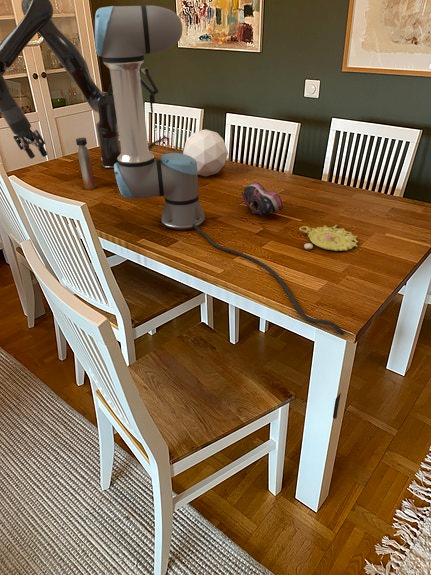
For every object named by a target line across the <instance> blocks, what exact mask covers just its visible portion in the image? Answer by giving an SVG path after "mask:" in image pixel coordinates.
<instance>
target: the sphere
mask: <svg viewBox="0 0 431 575" xmlns="http://www.w3.org/2000/svg"><path fill="white" fill-rule="evenodd" d="M182 154H185V155H188V156H191V157H192V158H194V159H195V161H196V163H197V171H198V174H197V176H198V175H199V176H202V177H209V176H212V175H216V174H218V173H219V172H220V171H221V170H222V168H223V167H224V166H225V164H226V160H227V158H228V154H229V151H228V148H227V146H226V143H225V140H224V139H223V137H222V136H221V135H220V134H219V133H218V132H216V131H213V130H210V129H206V128H205V129H202V130H199V131H196V132H192V134H191V135H190V136H189V137H188V138H187V139H186V141H185V143H184V148H183V152H182Z"/></svg>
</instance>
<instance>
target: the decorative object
mask: <svg viewBox="0 0 431 575" xmlns="http://www.w3.org/2000/svg"><path fill="white" fill-rule="evenodd" d="M303 228H304V229H305V230H304V229H303ZM299 231H300V232H303V233H305V234H307V237H308V238H309V240H310V241H311V243H304V244H303V248H304V249H305V250H313V249H314V245H315V246H316V247H318V248H321V249H324V250H328V251H335V252H341V251H348V250H352V249H354V247H356V248H358V247H359V245H358V244H357V243H359V240H357V238H359V237H358V235H353V234H352V231H347V230H346V229H345V228H344V227H342V228H338V224H335V225H333V226H331V227H328V226H327V225H326V224H325V225H323V226H322V227H321V226H317V227H316V228H314V227H309V226H308V225H302V226H300V227H299ZM313 244H314V245H313Z"/></svg>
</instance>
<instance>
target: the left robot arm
mask: <svg viewBox="0 0 431 575" xmlns="http://www.w3.org/2000/svg"><path fill="white" fill-rule="evenodd" d="M20 6H21V12H22V13H23V17H22V19H21V20H20V22H19V23H18V24H17V25H16V26H15V27H14V28H13V29H12V30H11V31H10V32H8V33H7V34H6V35H5V36H4V37H3V38H2V40H1V41H0V113H1V115H2V117H3V119H4V120H5V123H6V124H7V125H8V127H9V129H10V130H11V132H12V133H13V134H14V135H13V136H12V137H13V140H14V141H15V143H16V144H17V146H18V148H19V149H20V150H21V151H24V152H26V153H25V154H27V156H28V158H29V159H34V158H35V157H36V155H35V153H34V151H33V150H32V149H31V148H30V145H32V146H35V148H37V149H38V151H39V153H40V155H41V156H42V157H43V158H44V157H47V156H48V152H47V151H46V148H45V147H44V145H45V144H46V142H45V140H44V138H43V137H42V135H41V134H40V132H39V131H38V129H35V130H34V131H32V129H31V128H32V124H31V123H30V121H29V119H28V118H27V116H26V114H25V113H24V111H23V110H22V108H21V107H20V105H19V104H18V102H17V101H16V98H15V97H14V95H13V94H12V93H11V91H10V88H9V86H8V84H7V82H6V79H5V78H4V74H5V73H6V71H7V70H8V69H9V70H10V68H11V67H12V66H13V65H14V63H16V60H17V59H18V58H19V57H20V55H21V54H22V52H23V51H24V49H25V48H26V46H28V44H29V43H30V41H32V39H33V38H34V37H35V36H36V35H37V34H39V35H40V36H41V37H42V40H44V41H45V44H46V45H47V46H48V47H49V49H50V50H51V52H52V53H53V55H54V56H55V58H56V59H57V61H58V62H59V63H60V65H61V66H62V67H63V69H64V71H65V72H66V73H67V74H68V76H69V77H70V78H71V79H72V81H73V82H74V84H75V85H76V86H77V88H78V89H79V90H80V92H81V93H82V95H83V97H84V98H85V100H86V103H87V104H88V106H89V107H90V109H91V110H93V112H95V113H98V118H99V119H98V121H97V122H96V123H95V127H96V134H97V139H98V146H99V151H100V152H99V153H100V160H101V163H102V164H101V165H102V167H103V168H105V169H114V164H115V163H118V159H117V158H118V156H119V155H120V154H121V146H120V139H119V132H118V124H117V117H116V110H115V106H114V105H113V100H112V97H111V96H108V95H107V92H108V91H102V90H101V89H100V88H99V87H98V86H97V85H96V82H95V81H94V80H93V78H92V76H91V74H90V73H91V72H90V68H89V66H88V63H87V61H86V59H85V58H84V56H83V54H82V53H81V51H80V50H79V49H78V47H77V46H76V45H75V44H74V43H73V42H72V40H71V39H69V38H68V37H67V36H66V35H65V34H64V33H63V32H62V31H61V30H60V29H59V28H58V27H57V26H56V24H55V23H54V21H53V19H52V18H53V17H54V7H53V4H52V1H51V0H21V4H20ZM167 137H168V136H164V137H161V138H160V139H157V140H155V141H153V142H151V143H150V144H148V150H150V148H151V147H152V146H153V145H155V144H157V143H159V142H161V141H163V140H165V139H166V140H169V139H170V138H169V137H168V138H167Z"/></svg>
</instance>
